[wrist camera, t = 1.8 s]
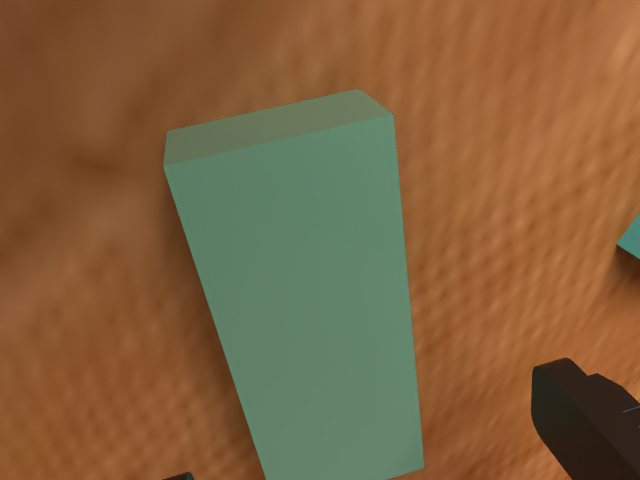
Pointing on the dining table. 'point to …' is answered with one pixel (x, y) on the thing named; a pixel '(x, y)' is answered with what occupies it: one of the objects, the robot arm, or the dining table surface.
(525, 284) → the dining table surface
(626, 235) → the alien figure
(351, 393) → the green block
